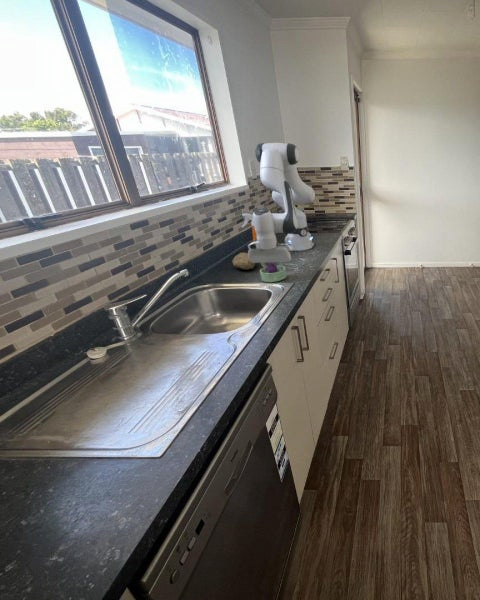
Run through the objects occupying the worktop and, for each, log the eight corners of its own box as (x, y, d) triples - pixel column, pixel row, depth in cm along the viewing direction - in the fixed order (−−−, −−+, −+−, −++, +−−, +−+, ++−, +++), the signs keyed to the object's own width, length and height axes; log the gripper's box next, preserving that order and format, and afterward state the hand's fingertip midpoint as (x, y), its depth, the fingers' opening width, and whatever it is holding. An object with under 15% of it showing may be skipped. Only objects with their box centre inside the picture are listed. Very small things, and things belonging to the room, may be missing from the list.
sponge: (237, 264, 192) (225, 269, 173) (237, 251, 190) (226, 254, 171) (260, 267, 195) (252, 271, 176) (261, 254, 193) (253, 257, 174)
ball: (266, 273, 166) (264, 264, 164) (275, 271, 170) (274, 262, 167) (270, 276, 163) (268, 266, 161) (280, 273, 166) (278, 264, 164)
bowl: (257, 278, 168) (255, 269, 166) (279, 272, 175) (278, 263, 173) (268, 285, 160) (266, 275, 158) (291, 278, 168) (289, 269, 165)
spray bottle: (247, 256, 202) (238, 213, 191) (265, 253, 207) (257, 211, 196) (250, 259, 196) (240, 215, 185) (268, 256, 202) (260, 212, 190)
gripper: (290, 241, 162) (294, 268, 168) (249, 242, 163) (255, 268, 169) (286, 245, 157) (291, 272, 163) (244, 245, 157) (250, 272, 163)
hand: (272, 270), depth 166 cm, fingers closed on ball, 5 cm apart
